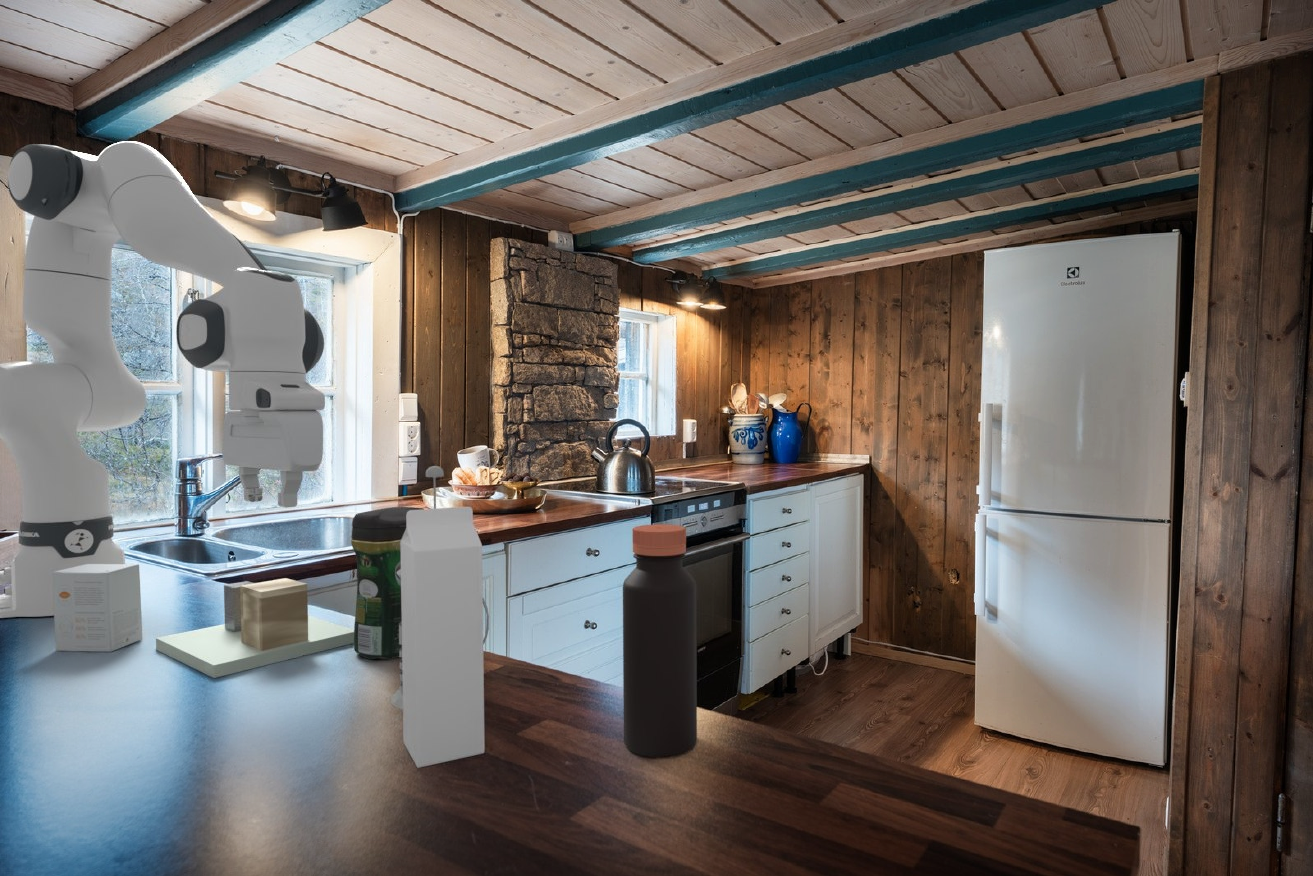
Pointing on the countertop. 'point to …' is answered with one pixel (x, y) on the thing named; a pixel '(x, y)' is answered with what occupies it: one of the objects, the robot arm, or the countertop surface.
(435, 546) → the milk
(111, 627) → the small box
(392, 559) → the coffee jar
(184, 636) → the board
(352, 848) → the countertop surface
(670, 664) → the bottle
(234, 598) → the post
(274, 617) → the wood grain cuboid
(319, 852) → the countertop surface
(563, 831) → the countertop surface
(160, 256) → the robot arm
